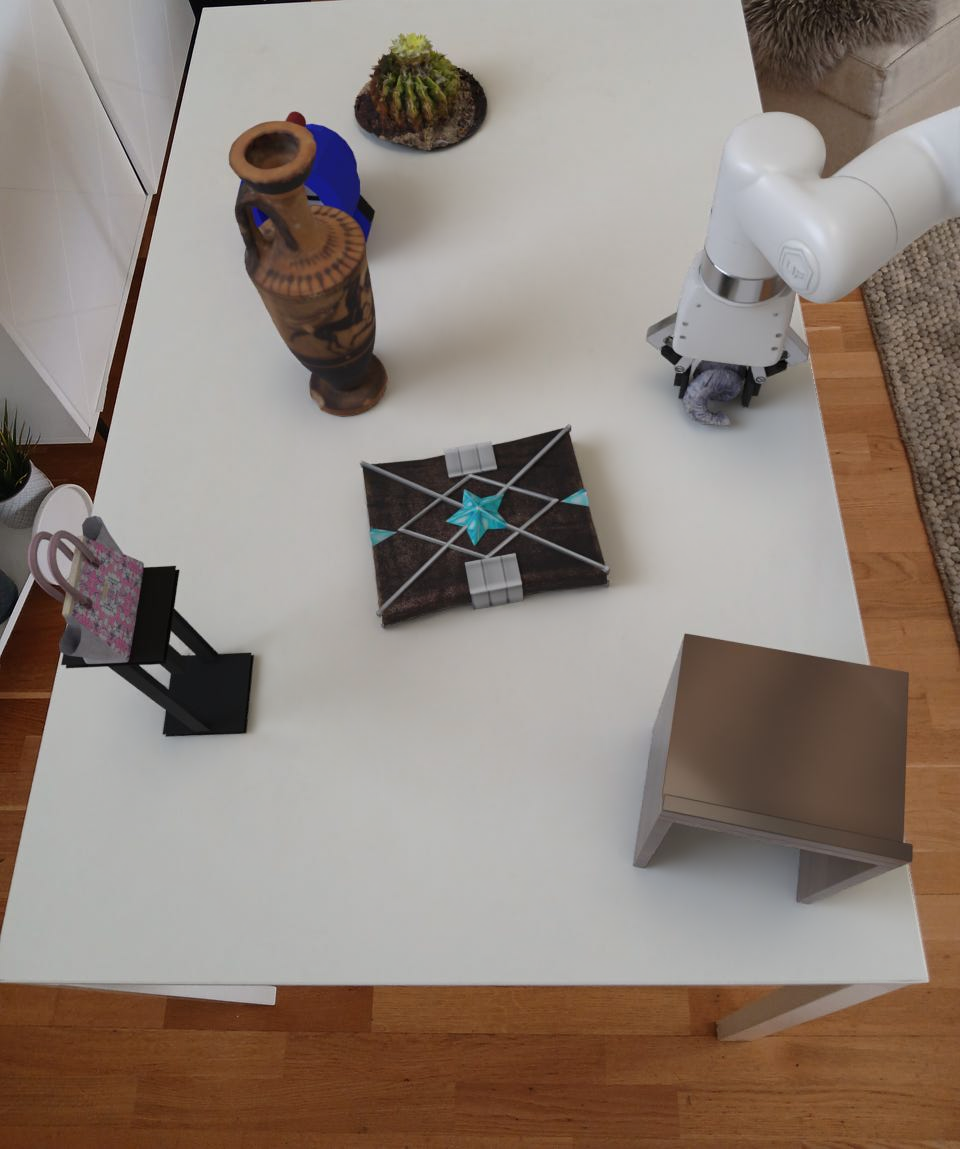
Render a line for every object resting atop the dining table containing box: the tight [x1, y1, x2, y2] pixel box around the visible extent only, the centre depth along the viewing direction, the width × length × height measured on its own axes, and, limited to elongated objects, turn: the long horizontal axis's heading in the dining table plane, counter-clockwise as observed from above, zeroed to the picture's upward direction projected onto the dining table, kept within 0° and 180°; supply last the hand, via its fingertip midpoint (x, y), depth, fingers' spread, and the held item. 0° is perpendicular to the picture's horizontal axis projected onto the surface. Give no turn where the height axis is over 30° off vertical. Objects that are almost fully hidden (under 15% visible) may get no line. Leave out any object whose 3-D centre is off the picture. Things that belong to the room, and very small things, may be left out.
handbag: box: [27, 515, 255, 738], centre depth 70 cm, size 10×8×30 cm
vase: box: [228, 120, 388, 417], centre depth 84 cm, size 11×11×30 cm
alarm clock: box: [237, 111, 376, 243], centre depth 101 cm, size 12×12×15 cm
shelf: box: [632, 633, 914, 905], centre depth 65 cm, size 14×12×24 cm
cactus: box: [353, 32, 488, 151], centre depth 111 cm, size 17×16×10 cm
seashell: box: [682, 360, 748, 427], centre depth 91 cm, size 5×5×10 cm
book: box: [359, 423, 611, 630], centre depth 87 cm, size 22×17×5 cm
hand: (714, 390), depth 93 cm, fingers closed on seashell, 5 cm apart
